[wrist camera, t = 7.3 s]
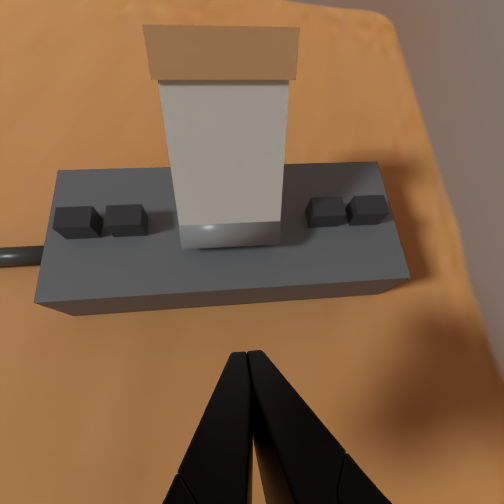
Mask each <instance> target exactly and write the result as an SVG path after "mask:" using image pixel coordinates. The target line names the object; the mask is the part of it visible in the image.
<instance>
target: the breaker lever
mask: <svg viewBox="0 0 504 504" xmlns="http://www.w3.org/2000/svg"><path fill="white" fill-rule="evenodd" d="M299 30H300V27H250V26H192V25H143V31H144V37H145V44H146V50H147V57H148V63H149V69H150V76H151V80H158V84H159V91H160V98H161V105H162V112H163V119H164V125H165V132H166V139H167V146H168V153H169V160H170V167H171V174H172V180H173V187H174V194H175V201H176V208H177V215H178V222H179V233H180V241H181V246H182V249H200V248H219V247H237V246H256V245H275V244H279V242H280V235H281V224H280V218H281V202H282V186H283V171H284V155H285V139H286V123H287V108H288V92H289V80H296V71H297V57H298V44H299Z"/></svg>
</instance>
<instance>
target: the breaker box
mask: <svg viewBox="0 0 504 504" xmlns="http://www.w3.org/2000/svg"><path fill="white" fill-rule="evenodd" d="M280 224H281V235H280V242H279V244H275V245H256V246H237V247H219V248H200V249H182V246H181V241H180V233H179V222H178V215H177V208H176V201H175V194H174V187H173V180H172V174H171V167H162V168H125V169H88V170H58V174H57V179H56V185H55V190H54V195H53V201H52V206H51V212H50V217H49V222H48V228H47V233H46V239H45V244H44V246H26V247H6V248H0V267H1V266H19V265H37V264H41V266H40V271H39V277H38V282H37V287H36V293H35V298H34V303H36V304H39V305H42V306H45V307H48V308H51V309H54V310H57V311H60V312H63V313H66V314H69V315H72V316H80V315H94V314H108V313H122V312H136V311H150V310H164V309H178V308H192V307H206V306H220V305H234V304H248V303H262V302H276V301H290V300H304V299H318V298H332V297H346V296H360V295H374V294H379V293H381V292H383V291H385V290H387V289H389V288H391V287H393V286H395V285H397V284H399V283H401V282H403V281H405V280H407V279H409V278H411V276H410V273H409V269H408V266H407V263H406V259H405V256H404V252H403V249H402V245H401V242H400V239H399V235H398V232H397V228H396V225H395V221H394V218H393V215H392V211H391V208H390V204H389V201H388V198H387V194H386V191H385V187H384V184H383V180H382V177H381V174H380V170H379V167H378V163H377V162H346V163H309V164H284V171H283V186H282V202H281V218H280Z"/></svg>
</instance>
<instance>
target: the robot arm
mask: <svg viewBox="0 0 504 504" xmlns="http://www.w3.org/2000/svg"><path fill="white" fill-rule="evenodd" d="M253 441H254V447H255V452H256V457H257V462H258V466H259V471H260V476H261V481H262V486H263V490H264V495H265V500H266V504H392V503H391V502H390V501H389V500H388V499H387V498H386V497H385V496H384V495H383V494H382V492H381V491H380V490H379V489H378V488H377V487H376V486H375V484H374V483H373V482H372V481H371V480H370V479H369V478H368V477H367V475H366V474H365V473H364V472H363V471H362V470H361V468H360V467H359V466H358V465H357V464H356V462H355V461H354V460H353V459H352V458H351V456H350V455H349V454H345V453H346V451H345V449H344V448H343V447H342V446H341V445H340V443H339V442H338V441H337V440H336V439H335V437H334V436H333V435H332V434H331V433H330V431H329V430H328V429H327V428H326V427H325V425H324V424H323V423H322V422H321V421H320V419H319V418H318V417H317V416H316V415H315V413H314V412H313V411H312V410H311V409H310V407H309V406H308V405H307V404H306V403H305V401H304V400H303V399H302V398H301V397H300V395H299V394H298V393H297V392H296V391H295V389H294V388H293V387H292V386H291V385H290V383H289V382H288V381H287V380H286V379H285V377H284V376H283V375H282V374H281V372H280V371H279V370H278V369H277V368H276V366H275V365H274V364H273V363H272V362H271V360H270V359H269V358H268V357H267V356H266V354H265V353H264V352H263V351H261V350H255V351H248V352H247V353H246V352H233V353H231V354H230V356H229V359H228V361H227V363H226V365H225V367H224V370H223V372H222V374H221V376H220V378H219V381H218V383H217V385H216V387H215V390H214V392H213V394H212V396H211V398H210V401H209V403H208V405H207V407H206V409H205V412H204V414H203V416H202V418H201V420H200V423H199V425H198V427H197V429H196V431H195V434H194V436H193V438H192V440H191V443H190V445H189V447H188V449H187V451H186V454H185V456H184V458H183V460H182V462H181V465H180V467H179V469H178V474H177V475H175V477H174V480H173V482H172V484H171V486H170V488H169V491H168V493H167V495H166V497H165V499H164V501H163V503H162V504H252V473H253Z"/></svg>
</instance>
